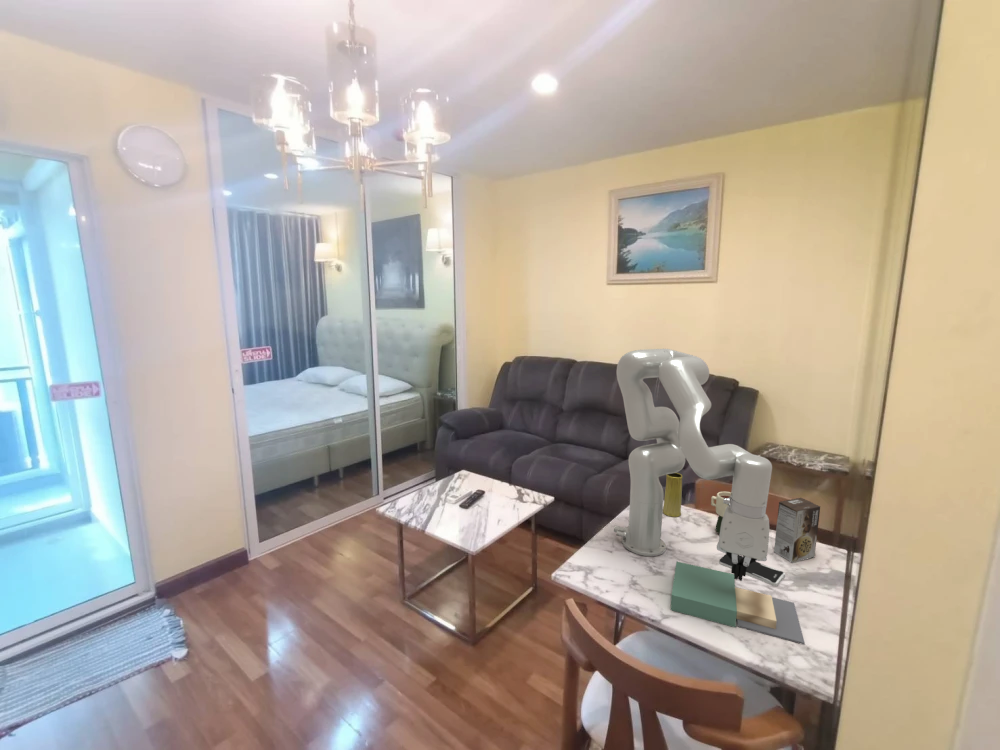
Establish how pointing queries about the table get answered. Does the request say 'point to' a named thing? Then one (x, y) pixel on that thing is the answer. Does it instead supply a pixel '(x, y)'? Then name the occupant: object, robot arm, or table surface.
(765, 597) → the oak tile
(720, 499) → the character mug
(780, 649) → the table surface
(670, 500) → the vase
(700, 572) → the green flat block
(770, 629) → the rubber mat
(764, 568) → the smartphone
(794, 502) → the coffee box
